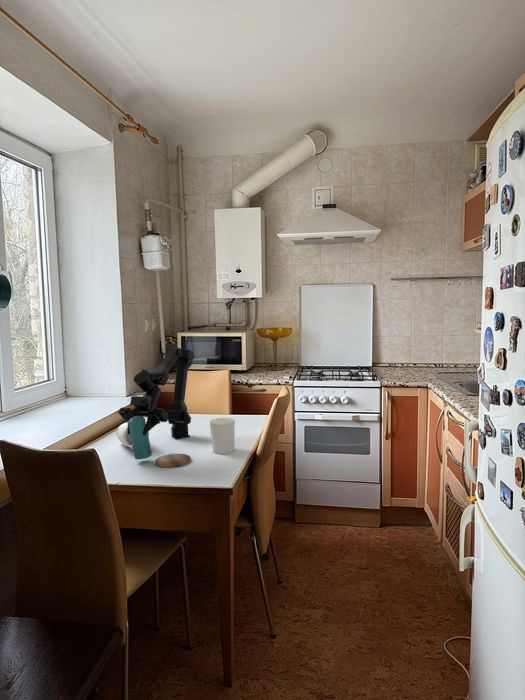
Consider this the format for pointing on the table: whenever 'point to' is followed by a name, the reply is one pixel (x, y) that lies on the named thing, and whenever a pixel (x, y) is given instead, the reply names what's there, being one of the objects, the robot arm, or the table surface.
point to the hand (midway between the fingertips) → (135, 434)
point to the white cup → (222, 435)
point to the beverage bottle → (139, 435)
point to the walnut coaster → (172, 460)
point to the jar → (124, 435)
